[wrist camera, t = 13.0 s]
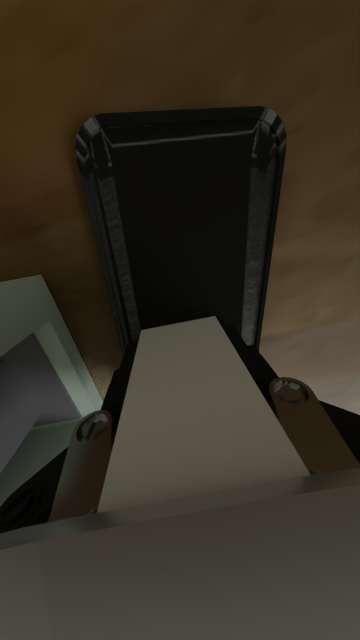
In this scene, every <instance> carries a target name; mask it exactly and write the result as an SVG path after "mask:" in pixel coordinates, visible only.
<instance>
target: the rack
mask: <svg viewBox="0 0 360 640" xmlns="http://www.w3.org/2000/svg"><path fill="white" fill-rule="evenodd" d="M1 360H5V361H6V362H7V364H8V365H9V367H10V368H11V369H12V371H13V372H14V374H15V375H16V377H17V378H18V380H19V381H20V383H21V384H22V386H23V387H24V389H25V390H26V392H27V393H28V395H29V396H30V398H31V399H32V401H33V402H34V404H35V405H36V407H37V408H38V410H39V411H40V413H41V415H40V417H39V418H38V419H37V421H36V422H35V424H34V425H33V427H32V428H31V430H30V431H29V433H28V434H27V436H26V437H25V438H24V440H23V441H22V443H21V444H20V446H19V447H18V449H17V450H16V452H15V453H14V455H13V456H12V457H11V459H10V460H9V462H8V463H7V465H6V466H5V468H4V469H3V471H2V472H1V474H0V507H1V505H2V504H3V503H4V502H5V500H6V499H7V498H8V497H9V496H10V495H11V494H12V493H13V492H14V491H15V490H16V489H18V488H19V487H20V486H21V485H22V484H24V483H25V482H26V481H27V480H28V479H30V478H31V477H32V476H33V475H34V474H36V473H37V472H38V471H39V470H40V469H42V468H43V467H44V466H45V465H46V464H48V463H49V462H50V461H51V460H52V459H54V458H55V457H56V456H57V455H58V454H60V453H61V452H62V451H63V450H64V449H66V448H67V447H68V446H69V443H70V439H71V436H72V433H73V430H74V428H75V427H76V425H77V424H78V423H79V422H80V421H81V420H82V419H83V418H84V417H85V416H87V415H88V414H90V413H92V412H94V411H98V410H101V407H102V404H103V401H102V399H101V397H100V394H99V392H98V390H97V388H96V386H95V384H94V382H93V380H92V378H91V376H90V374H89V372H88V370H87V368H86V365H85V363H84V361H83V359H82V357H81V355H80V353H79V351H78V349H77V347H76V345H75V343H74V341H73V339H72V337H71V334H70V332H69V330H68V328H67V326H66V324H65V322H64V320H63V318H62V316H61V314H60V312H59V310H58V308H57V305H56V303H55V301H54V299H53V297H52V295H51V293H50V291H49V289H48V287H47V285H46V283H45V281H44V279H43V277H42V274H41V275H35V276H30V277H25V278H19V279H14V280H8V281H3V282H0V361H1Z"/></svg>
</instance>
